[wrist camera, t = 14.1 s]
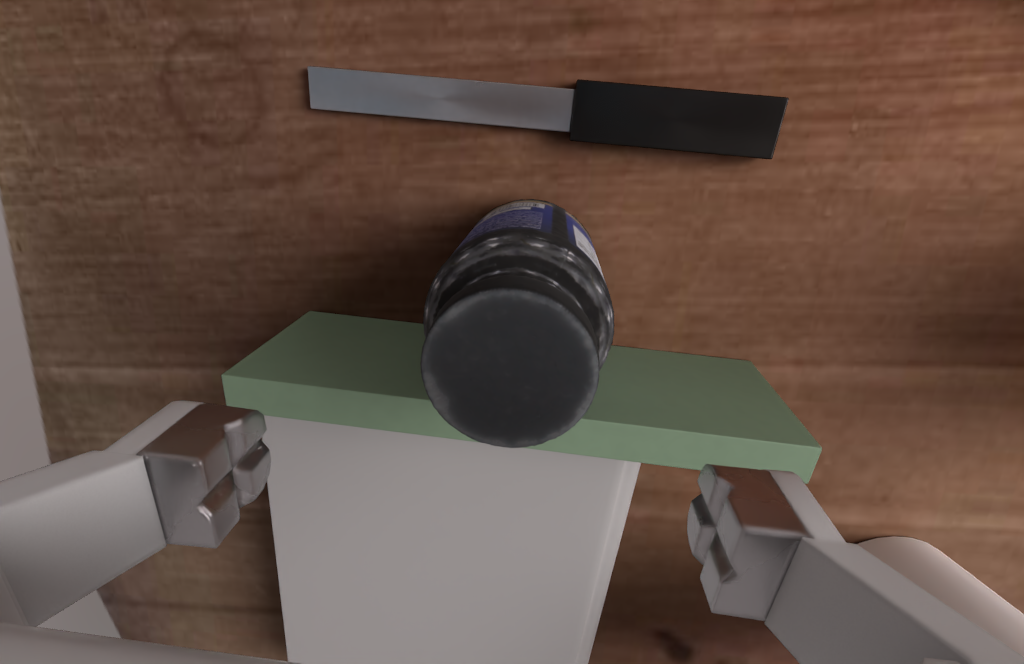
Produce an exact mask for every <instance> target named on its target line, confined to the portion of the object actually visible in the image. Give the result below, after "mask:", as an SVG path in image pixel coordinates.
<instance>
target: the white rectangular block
mask: <svg viewBox="0 0 1024 664" xmlns="http://www.w3.org/2000/svg"><path fill="white" fill-rule="evenodd" d="M264 418H265V423H266V428H267V431H266V432H265V433H264V435H263V436H262V441H263V443H264V444H265V445H266V446H267V447H268V448H269V450H270V456H271V466H270V474H269V476H268V479H267V485H268V494H269V503H270V511H271V520H272V528H273V537H274V545H275V554H276V563H277V571H278V580H279V588H280V597H281V605H282V614H283V622H284V631H285V640H286V648H287V657H288V662H294V663H301V664H588V662H589V658H590V654H591V650H592V646H593V643H594V639H595V635H596V631H597V628H598V624H599V620H600V616H601V612H602V609H603V605H604V601H605V597H606V593H607V590H608V586H609V582H610V578H611V574H612V571H613V567H614V563H615V559H616V556H617V552H618V548H619V544H620V540H621V537H622V533H623V529H624V525H625V521H626V518H627V514H628V510H629V506H630V503H631V499H632V495H633V491H634V487H635V484H636V480H637V476H638V472H639V468H640V465H641V463H639V462H631V461H623V460H615V459H607V458H599V457H591V456H583V455H575V454H567V453H559V452H551V451H543V450H535V449H528V448H507V447H500V446H493V445H490V444H486V443H480V442H472V441H464V440H456V439H448V438H440V437H432V436H424V435H416V434H408V433H400V432H392V431H384V430H376V429H368V428H360V427H352V426H345V425H337V424H329V423H321V422H313V421H305V420H297V419H289V418H281V417H273V416H265V415H264Z"/></svg>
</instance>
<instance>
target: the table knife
mask: <svg viewBox="0 0 1024 664" xmlns="http://www.w3.org/2000/svg"><path fill="white" fill-rule="evenodd" d="M308 79H309V93H310V107H311V109H320V110H331V111H342V112H353V113H363V114H374V115H385V116H396V117H407V118H418V119H429V120H440V121H450V122H461V123H472V124H483V125H494V126H505V127H516V128H526V129H537V130H548V131H559V132H570V137H569V140H571V141H579V142H590V143H600V144H611V145H622V146H633V147H643V148H654V149H665V150H676V151H687V152H697V153H708V154H719V155H730V156H740V157H751V158H762V159H772V157H773V153H774V150H775V146H776V143H777V139H778V136H779V132H780V128H781V125H782V121H783V118H784V114H785V110H786V107H787V103H788V100H789V98H786V97H774V96H763V95H751V94H740V93H728V92H717V91H705V90H693V89H682V88H670V87H659V86H647V85H636V84H624V83H612V82H601V81H589V80H577V82H576V87H575V89H567V88H555V87H544V86H532V85H521V84H509V83H498V82H487V81H475V80H464V79H452V78H441V77H429V76H418V75H407V74H395V73H384V72H372V71H361V70H349V69H338V68H327V67H315V66H308Z"/></svg>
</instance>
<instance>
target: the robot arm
mask: <svg viewBox="0 0 1024 664" xmlns="http://www.w3.org/2000/svg"><path fill="white" fill-rule="evenodd" d="M266 431H267V428H266V423H265V418H264V415H263V414H262V413H261V412H259V411H258V410H253V409H246V408H239V407H231V406H224V405H217V404H210V403H202V402H194V401H185V400H179V401H172V402H171V403H169V404H168V405H167V406H165V407H164V408H162V409H161V410H160V411H158V412H157V413H155V414H154V415H153V416H151V417H150V418H149V419H147V420H146V421H144V422H143V423H142V424H140V425H139V426H137V427H136V428H135V429H133V430H132V431H130V432H129V433H128V434H126V435H125V436H123V437H122V438H121V439H119V440H118V441H116V442H115V443H114V444H112V445H111V446H109V447H108V448H107V449H105V450H104V451H96V450H93V451H90V452H87V453H84V454H81V455H78V456H75V457H72V458H69V459H66V460H63V461H60V462H57V463H54V464H51V465H48V466H45V467H42V468H39V469H36V470H33V471H30V472H27V473H24V474H21V475H18V476H15V477H12V478H9V479H6V480H2V481H0V664H301V663H294V662H287V661H280V660H273V659H265V658H258V657H251V656H244V655H236V654H229V653H222V652H215V651H208V650H200V649H193V648H186V647H179V646H171V645H164V644H157V643H150V642H142V641H135V640H128V639H121V638H114V637H106V636H99V635H91V634H84V633H77V632H70V631H63V630H55V629H48V628H41V627H36V626H38V625H39V624H41V623H43V622H44V621H46V620H47V619H49V618H51V617H52V616H54V615H56V614H57V613H59V612H61V611H62V610H64V609H65V608H67V607H69V606H70V605H72V604H74V603H75V602H77V601H78V600H80V599H82V598H83V597H85V596H87V595H88V594H90V593H91V592H93V591H95V590H96V589H98V588H100V587H101V586H103V585H104V584H106V583H108V582H109V581H111V580H113V579H114V578H116V577H117V576H119V575H121V574H122V573H124V572H125V571H127V570H129V569H130V568H132V567H134V566H135V565H137V564H138V563H140V562H142V561H143V560H145V559H147V558H148V557H150V556H151V555H153V554H155V553H156V552H158V551H160V550H161V549H163V548H164V547H166V546H167V544H177V545H188V546H198V547H208V548H217V547H218V546H219V544H220V543H221V542H222V541H223V539H224V538H225V537H226V536H227V535H228V533H229V532H230V531H231V530H232V528H233V527H234V526H235V525H236V523H237V522H238V521H239V520H240V512H239V508H241V507H243V506H245V505H247V504H249V503H251V502H252V501H254V500H255V499H256V498H257V497H258V495H259V494H260V493H261V491H262V490H263V489H264V487H265V484H266V482H267V479H268V476H269V474H270V466H271V456H270V450H269V448H268V447H267V446H266V445H265V444H264V443H263V441H262V440H261V437H262V436H263V435H264V433H265V432H266ZM697 482H698V484H699V487H700V489H701V492H702V493H701V494H700V495H699V496H697V497H696V498H695V499H694V500H692V501H691V505H690V509H689V513H688V524H687V533H688V539H689V545H690V548H691V551H692V554H693V556H694V557H695V558H696V559H697V560H698V561H699V562H700V563H701V564H702V565H704V566H703V569H702V572H701V575H700V579H701V582H702V585H703V588H704V591H705V594H706V597H707V600H708V603H709V606H710V609H711V612H712V613H717V614H723V615H729V616H736V617H742V618H748V619H755V620H761V621H765V623H764V624H765V625H766V626H767V627H768V628H769V629H770V631H771V632H772V633H773V634H774V635H775V636H776V637H777V638H778V640H779V641H780V642H781V643H782V644H783V645H784V646H785V647H786V648H787V650H788V651H789V652H790V653H791V654H792V655H793V656H794V657H795V659H796V660H797V661H798V662H799V663H800V664H1024V657H1023V656H1022V655H1020V654H1019V653H1017V652H1016V651H1014V650H1013V649H1011V648H1010V647H1008V646H1007V645H1006V644H1004V643H1003V642H1001V641H1000V640H998V639H997V638H995V637H994V636H992V635H991V634H989V633H988V632H986V631H985V630H983V629H982V628H980V627H979V626H977V625H976V624H974V623H973V622H971V621H970V620H968V619H967V618H965V617H964V616H962V615H961V614H959V613H958V612H956V611H955V610H954V609H952V608H951V607H949V606H948V605H946V604H945V603H943V602H942V601H940V600H939V599H937V598H936V597H934V596H933V595H931V594H930V593H928V592H927V591H925V590H924V589H922V588H921V587H919V586H918V585H916V584H915V583H913V582H912V581H910V580H909V579H907V578H906V577H904V576H903V575H902V574H900V573H899V572H897V571H896V570H894V569H893V568H891V567H890V566H888V565H887V564H885V563H884V562H882V561H881V560H879V559H878V558H876V557H875V556H873V555H872V554H870V553H869V552H867V551H866V550H864V549H863V548H861V547H860V546H858V545H857V544H853V543H846V542H845V540H844V539H843V537H842V536H841V534H840V533H839V532H838V530H837V529H836V527H835V526H834V525H833V523H832V522H831V520H830V519H829V518H828V516H827V515H826V513H825V512H824V510H823V509H822V508H821V506H820V505H819V503H818V502H817V501H816V499H815V498H814V496H813V495H812V493H811V492H810V491H809V489H808V488H807V486H806V485H805V484H804V482H803V481H802V479H801V478H800V477H799V476H798V475H797V474H795V473H794V472H791V471H779V470H768V469H763V470H759V469H750V468H741V467H732V466H723V465H714V464H705V465H704V467H703V468H702V470H701V472H700V475H699V478H698V481H697ZM166 543H167V544H166Z"/></svg>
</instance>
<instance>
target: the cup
mask: <svg viewBox="0 0 1024 664" xmlns="http://www.w3.org/2000/svg"><path fill="white" fill-rule="evenodd" d="M857 545H858V546H860V547H861V548H863V549H864V550H866V551H867V552H869V553H870V554H872V555H873V556H875V557H876V558H878V559H879V560H881V561H882V562H884V563H885V564H887V565H888V566H890V567H891V568H893V569H894V570H896V571H897V572H899V573H900V574H902V575H903V576H904V577H906V578H907V579H909V580H910V581H912V582H913V583H915V584H916V585H918V586H919V587H921V588H922V589H924V590H925V591H927V592H928V593H930V594H931V595H933V596H934V597H936V598H937V599H939V600H940V601H942V602H943V603H945V604H946V605H948V606H949V607H951V608H952V609H954V610H955V611H956V612H958V613H959V614H961V615H962V616H964V617H965V618H967V619H968V620H970V621H971V622H973V623H974V624H976V625H977V626H979V627H980V628H982V629H983V630H985V631H986V632H988V633H989V634H991V635H992V636H994V637H995V638H997V639H998V640H1000V641H1001V642H1003V643H1004V644H1006V645H1007V646H1008V647H1010V648H1011V649H1013V650H1014V651H1016V652H1017V653H1019V654H1020V655H1022V656H1023V657H1024V614H1023V613H1021V612H1020V611H1019V610H1017V609H1016V608H1015V607H1014V606H1012V605H1011V604H1010V603H1008V602H1007V601H1006V600H1004V599H1003V598H1002V597H1000V596H999V595H998V594H996V593H995V592H994V591H992V590H991V589H990V588H988V587H987V586H986V585H985V584H983V583H982V582H981V581H979V580H978V579H977V578H975V577H974V576H973V575H971V574H970V573H969V572H967V571H966V570H965V569H963V568H962V567H961V566H959V565H958V564H957V563H956V562H954V561H953V560H952V559H950V558H949V557H948V556H946V555H945V554H944V553H942V552H941V551H940V550H938V549H937V548H935V547H933V546H932V545H930V544H929V543H927V542H924V541H921V540H917V539H914V538H909V537H897V536H892V537H882V538H875V539H872V540H868V541H865V542H861V543H858V544H857Z"/></svg>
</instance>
